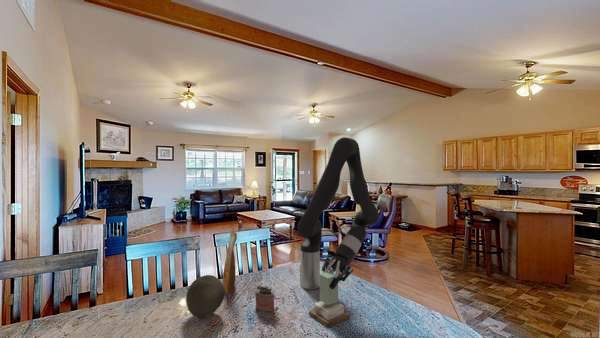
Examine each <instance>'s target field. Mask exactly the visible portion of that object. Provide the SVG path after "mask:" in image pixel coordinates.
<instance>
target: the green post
mask: <svg viewBox="0 0 600 338" xmlns="http://www.w3.org/2000/svg"><path fill="white" fill-rule="evenodd" d="M335 274H336V273H335V272H334V273H331V272H329V271H328V272H326V273H324V272H323V273H320V274H319V275H320V287H319V302H320V301H322V302H324V303H326V304H327V305H330V304H333V303H335V302H338V303H339V283H338V284H337V285H336V287H335V288H334V289H331V288H330V287H329V285H330V284H331V282H332V280H333V279H334V278H335Z"/></svg>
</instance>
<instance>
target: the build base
mask: <svg viewBox="0 0 600 338" xmlns="http://www.w3.org/2000/svg"><path fill="white" fill-rule="evenodd" d="M313 307H314V308H313V309H310V310H308V316H310V317H311V318H313V319H314V320H316V321H317V322H319V323H320V324H321V325H323V326H325V327H326V328H330V327H332V326H334V325H336V324H339V323H341V322H344V321H345V320H346V321H347V320H348V319H350V313H348V312H347V311H345V306H344V305H343V304H341V303H340V302H339V301H338V302H335V303H333V304H330V305H327V304H326V303H324V302H322V301H320V300H319V301H318V302H317V301H316V302H315V303H314V305H313Z"/></svg>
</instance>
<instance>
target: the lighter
mask: <svg viewBox="0 0 600 338" xmlns="http://www.w3.org/2000/svg"><path fill="white" fill-rule="evenodd" d="M256 289H257V290H256V291H255V293H254V294H255V310H254V311H255V312H256V313H259V314H264V315H274V314H275V293H274V292H272V287H269V286H268V285H265V286H263V285H257V286H256Z"/></svg>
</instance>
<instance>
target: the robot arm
mask: <svg viewBox="0 0 600 338" xmlns="http://www.w3.org/2000/svg"><path fill="white" fill-rule="evenodd" d="M345 163H346V164H347V166H348V171H349V172H348V173H349V187H350V192H351V195H352V199H353V201H354V203H355V205H357V206H358V205H359V207H360V208H361V209H360V210H359V211H358V212H356V214H355V216H354V218H353V221H352V224H351V227H350V229H349V230H348V232H347V233H346V235H345V236H344V237H343V239H342V240H341V242H340V243H339V245H338V247H337V248H336V250H335V252H334V256H333V257H331V258H329V257H328V256H327V257H326V258H325V260H324V262H323V266H322V268H321V257H320V255H321V244H322V232H323V229H322V228H323V227H322V222H321V221H320V216H321V215H322V214H323V212H324V211H325V210H326V209H327V207H328V206H329V205H330V204H331V202H332V201H333V199H334V198H335V196H336V194H337V191H338V190H339V186H340V182H341V181H340V180H341V173H342V170H343V168H344V166H345ZM363 171H364V170H363V165H362V159H361V152H360V146H359V143H358V142H357V140H356V139H354V138H351V137H346V136H345V137H344V136H343V137H339V138H338V139H336V141H335V143H334V144H333V148H332V150H331V153H330V156H329V159H328V161H327V164H326V167H325V169H324V171H323V173H322V175H321V176H320V177H321V178H320V180H319V181H318V183H317V185H316V187H315V190H314V192H313V195H312V197H311V199H310V201H309V203H308V205H307V207H306V210H305V212H303V215H302V216H301V218H300V219H299V222H298V223H297V232H298V235H299V236H300V237H301V238H304V239H303V242H302V243H301V245H300V264H299V285H300V286H301V288H303V289H306V290H315V289H320V275H319V274H321V271H322V272H323V273H326V272H331V273H334V274H335V278H334V279H333V280H332V282H331V284H330V285H329V287H330V288H331V289H334V288H335V287H336V285H337V284H338V285H339V282H345V281H346V280H347V279H348V277H350V275H351V274H352V273H353V272H354V269H353V268H352V266H351V265H350V264H351V263H352V262H353V261H354V259H355V257H356V256H357V254H358V253H359V250H360V248H361V246H362V244H363V242H364V240H365V239H366V237H367V234H368V233H367V231H366V229H367V227H368V226H374V225H376V224H377V223H378V222H379V219H380V215H379V211H378V209H377V206H376V205H375V203H374V202H373V200H372V198H371V197H370V192H369V188H368V186H367V182H366V179H365V175H364V172H363Z"/></svg>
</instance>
